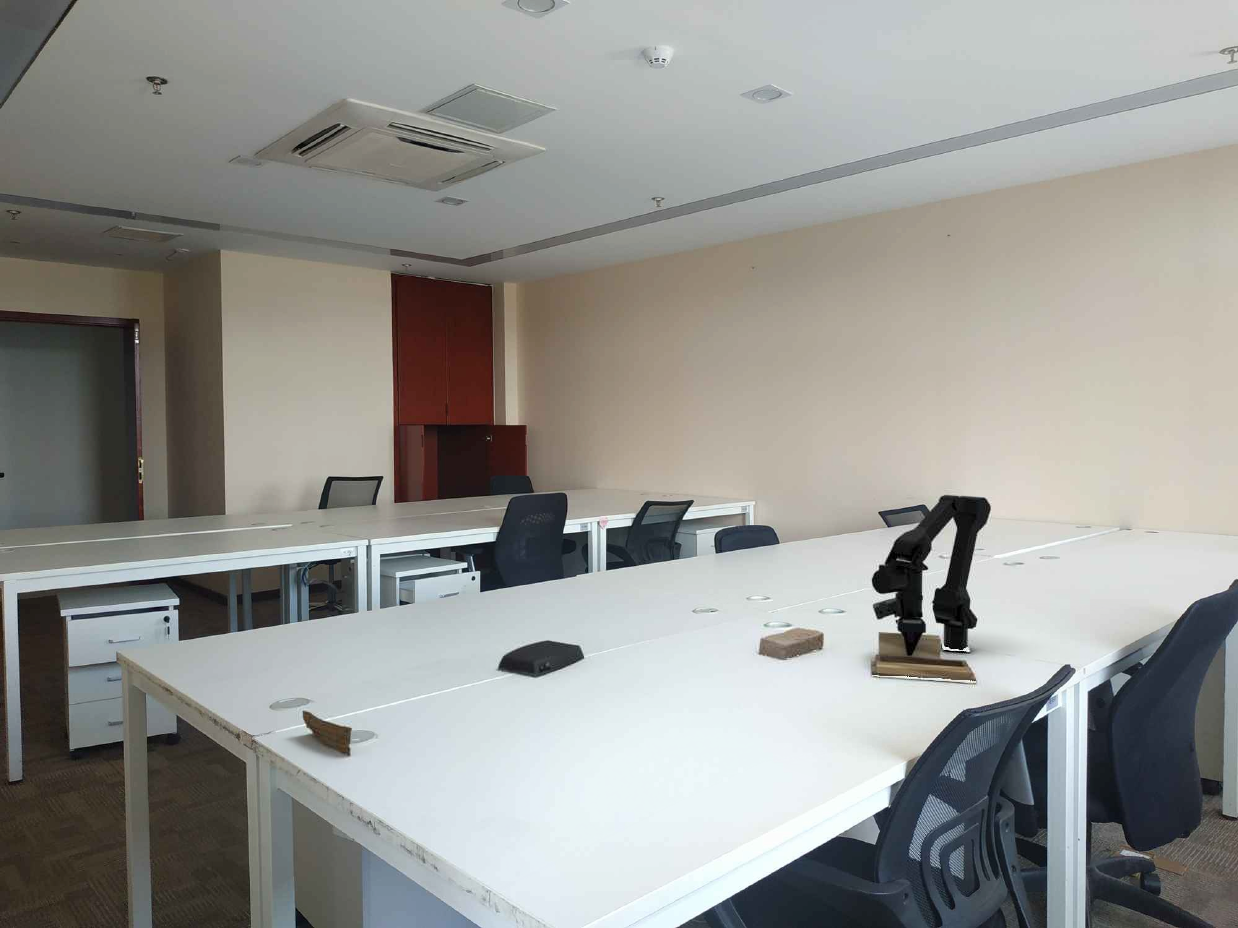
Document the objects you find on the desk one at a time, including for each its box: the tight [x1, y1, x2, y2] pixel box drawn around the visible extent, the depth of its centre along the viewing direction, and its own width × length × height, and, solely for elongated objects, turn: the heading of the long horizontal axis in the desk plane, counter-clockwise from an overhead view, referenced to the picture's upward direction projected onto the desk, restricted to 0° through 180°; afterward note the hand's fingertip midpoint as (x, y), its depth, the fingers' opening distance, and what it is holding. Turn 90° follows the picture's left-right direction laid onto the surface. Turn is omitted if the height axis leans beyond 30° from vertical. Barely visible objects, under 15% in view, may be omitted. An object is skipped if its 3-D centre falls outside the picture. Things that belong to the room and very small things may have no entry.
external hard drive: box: [496, 639, 585, 678], centre depth 206 cm, size 13×19×4 cm
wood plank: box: [302, 710, 353, 757], centre depth 154 cm, size 15×2×5 cm, turn 49°
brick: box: [758, 627, 825, 661], centre depth 216 cm, size 17×8×5 cm, turn 130°
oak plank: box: [877, 631, 942, 659], centre depth 208 cm, size 4×14×6 cm, turn 75°
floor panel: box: [870, 654, 977, 682], centre depth 196 cm, size 10×22×2 cm, turn 75°
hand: (908, 653), depth 208 cm, fingers closed on oak plank, 3 cm apart
